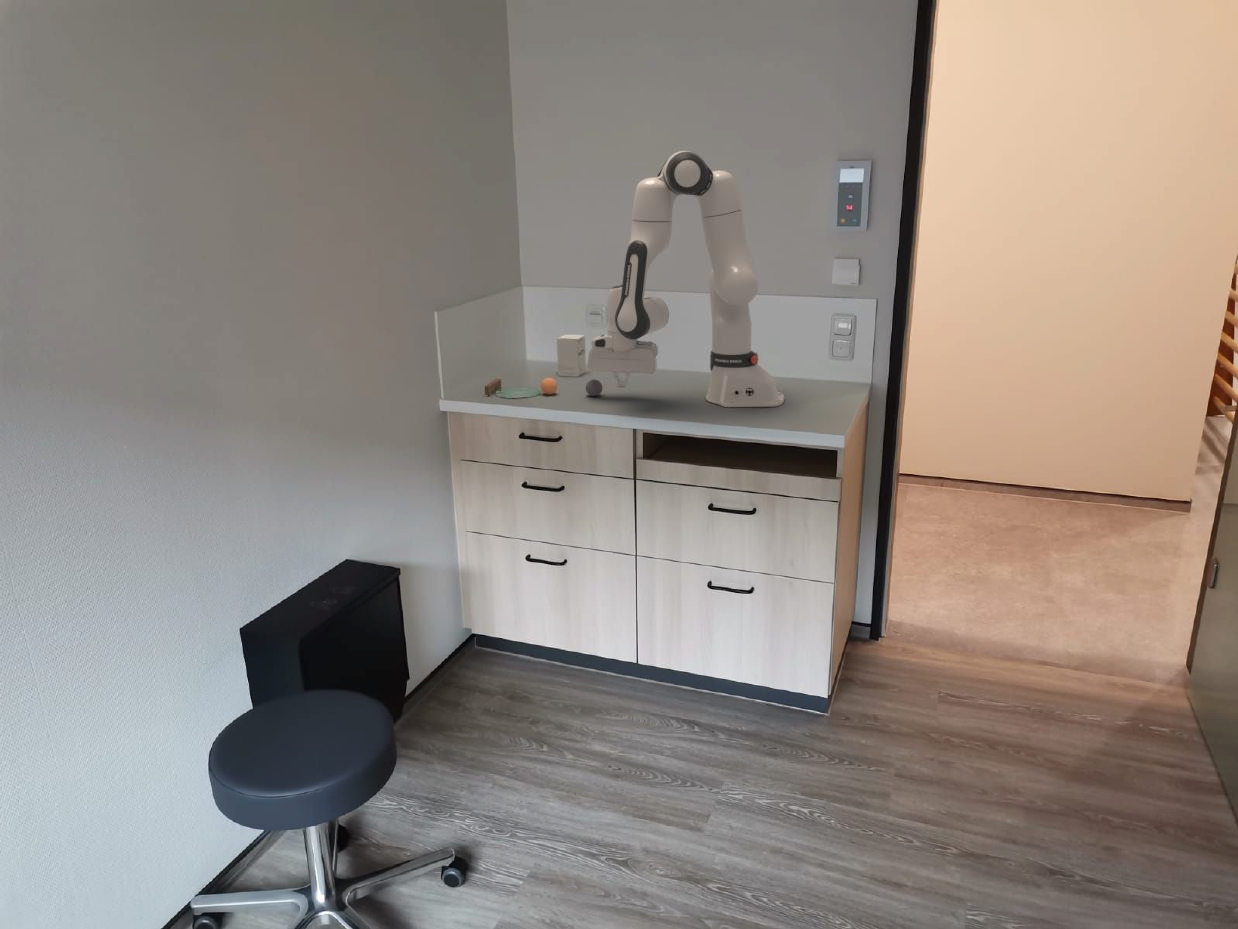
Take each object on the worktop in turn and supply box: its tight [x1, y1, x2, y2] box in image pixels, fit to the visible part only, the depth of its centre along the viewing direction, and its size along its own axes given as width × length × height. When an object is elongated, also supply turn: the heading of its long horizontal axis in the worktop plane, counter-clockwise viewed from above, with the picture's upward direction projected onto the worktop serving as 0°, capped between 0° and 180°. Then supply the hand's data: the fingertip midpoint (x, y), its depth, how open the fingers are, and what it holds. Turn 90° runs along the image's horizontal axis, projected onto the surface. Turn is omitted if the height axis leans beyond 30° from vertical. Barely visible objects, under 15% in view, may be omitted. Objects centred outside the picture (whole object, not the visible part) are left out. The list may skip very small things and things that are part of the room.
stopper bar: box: [484, 378, 502, 397], centre depth 280 cm, size 2×10×3 cm, turn 167°
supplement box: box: [556, 334, 587, 378], centre depth 300 cm, size 7×7×13 cm
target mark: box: [494, 386, 542, 399], centre depth 279 cm, size 14×14×1 cm
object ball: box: [540, 377, 558, 396], centre depth 276 cm, size 5×5×5 cm
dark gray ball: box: [585, 379, 603, 397], centre depth 273 cm, size 5×5×5 cm
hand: (622, 386), depth 270 cm, fingers closed
